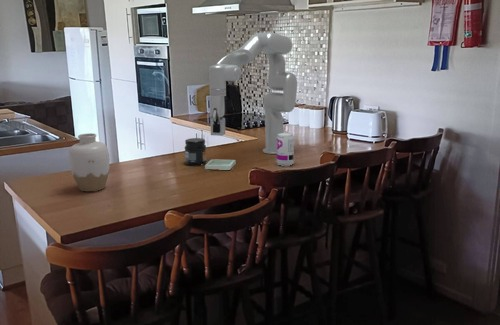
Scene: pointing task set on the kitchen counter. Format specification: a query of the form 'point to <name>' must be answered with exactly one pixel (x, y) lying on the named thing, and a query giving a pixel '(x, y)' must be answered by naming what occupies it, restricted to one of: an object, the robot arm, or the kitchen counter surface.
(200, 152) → the supplement container
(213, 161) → the tray
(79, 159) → the vase
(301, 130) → the kitchen counter surface
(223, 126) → the hollow metal cube
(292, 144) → the supplement can
